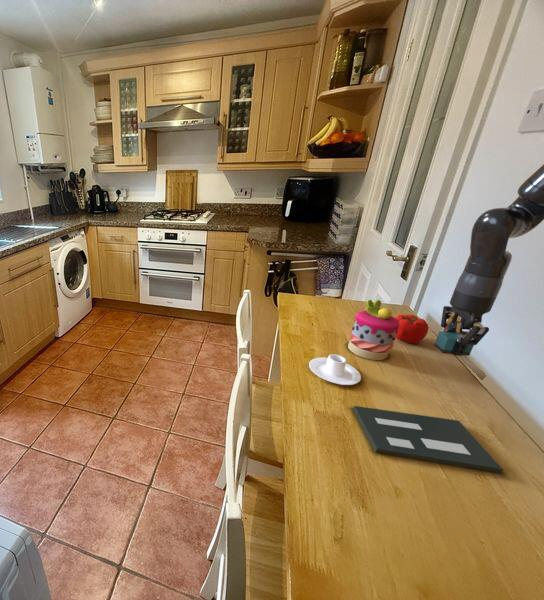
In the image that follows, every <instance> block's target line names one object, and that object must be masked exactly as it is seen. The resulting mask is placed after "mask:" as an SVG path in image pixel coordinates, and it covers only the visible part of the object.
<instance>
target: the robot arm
mask: <svg viewBox="0 0 544 600" xmlns="http://www.w3.org/2000/svg"><path fill="white" fill-rule="evenodd" d="M517 195H518V197H517V198H516V199H515V200H514V201H513V202H512V203H511V204H510V205H508V206H506V207H495V208H490V209H488V210H485V212H483V213H481V214H480V215H479V216H478V217H477V218H476V220H475V222H474V223H473V226H472V229H471V235H470V244H469V245H470V246H469V248H470V249H469V250H470V251H469V256H468V258H467V261H466V263H465V266H464V268H463V271H462V273H461V275H460V276H459V278H458V280H457V282H456V285H455V287H454V290H453V292H452V295H451V298H450V301H449V305H443V307H442V313H441V320H440V321H441V322H440V327H441V328H443V332H452V333H458V335H457V341H456V342H455V345H454V347H453V349H452V352H451V353H452V354H451V355H454V356H459V357H460V356H461V357H462V356H464V355H463V354H464V351H465V350H466V347H467V345H468V344H469V345H474V346H477V345H478V344H479V343H480V341H481V340H483V338H484V337H485V336H486V335H487V333H488V332H489V331H490V328H489V326H484V325H483V324H482V321H483V316H484V315H485V314H488V313H490V312H491V311H492V309H493V306H494V305H495V301H496V300H497V297H498V296H499V293H500V291H501V289H502V286H503V282H504V278H505V276H506V273H507V272H508V270H509V267H510V265H511V263H512V259H513V255H512V253H511V252H510V251H508V250H507V247H508V241H509V239H516V238H520V237H522V236H525V235H526V234H528V233H529V232H531V231H533V230H534V229H535V228H536V227H538V226H539V225H540V224H541V223H542V222H543V221H544V163H543V164H542V165H541V166H540V167H539V168H538V169H537V170H536V171H535V172H533V173H532V174H531V175H530V176H529V177H528V178H527V179H526V180H524V182H523V183H521V185H519V187H518V189H517ZM464 334H466V336H465V338H463V335H464ZM472 339H473V340H472Z"/></svg>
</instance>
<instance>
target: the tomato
mask: <svg viewBox="0 0 544 600" xmlns="http://www.w3.org/2000/svg"><path fill="white" fill-rule="evenodd" d="M395 318H396V319H397V320H398V321H399V323H400V325H399V328H398V331H397V334H396V333H395V336H394V337H395V339H396V340H399V341H400V342H401V341H402V342H406V343H408V344H418V343H420V342H421V341H423V340H424V339H425V337H427V334H428V332H429V324H428V323H427V321H426V319H424V318H421V317H418V316H417V315H415V314H410V313H409V314H398V315H397V316H395Z"/></svg>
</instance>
